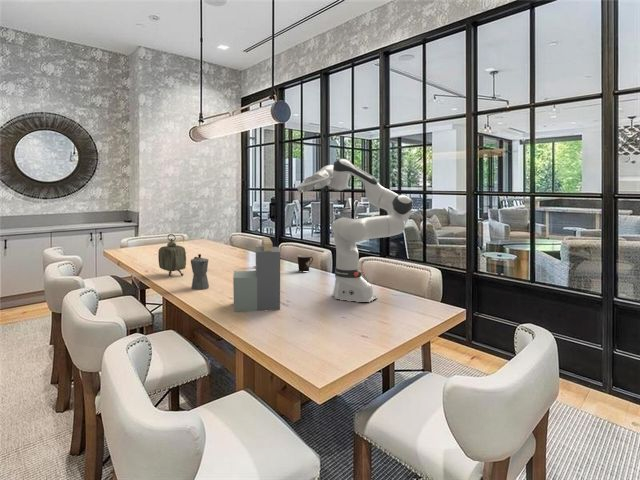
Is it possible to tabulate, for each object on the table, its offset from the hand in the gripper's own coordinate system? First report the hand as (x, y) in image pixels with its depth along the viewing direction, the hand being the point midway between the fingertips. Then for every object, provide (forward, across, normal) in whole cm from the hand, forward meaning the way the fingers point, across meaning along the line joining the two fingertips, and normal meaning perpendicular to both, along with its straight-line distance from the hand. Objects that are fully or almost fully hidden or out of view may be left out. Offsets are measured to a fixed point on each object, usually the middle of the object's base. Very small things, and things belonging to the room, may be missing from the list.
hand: (307, 190), depth 212 cm
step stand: (+61, +7, -30) cm, 68 cm away
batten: (+44, +1, -10) cm, 45 cm away
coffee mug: (-9, +35, -54) cm, 65 cm away
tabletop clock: (+43, +86, -17) cm, 98 cm away
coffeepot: (+52, +53, -22) cm, 77 cm away
